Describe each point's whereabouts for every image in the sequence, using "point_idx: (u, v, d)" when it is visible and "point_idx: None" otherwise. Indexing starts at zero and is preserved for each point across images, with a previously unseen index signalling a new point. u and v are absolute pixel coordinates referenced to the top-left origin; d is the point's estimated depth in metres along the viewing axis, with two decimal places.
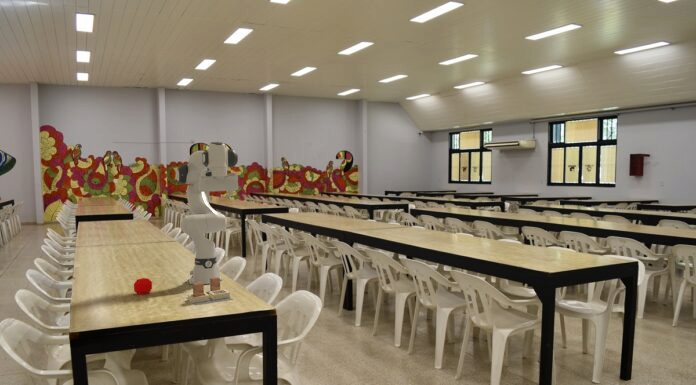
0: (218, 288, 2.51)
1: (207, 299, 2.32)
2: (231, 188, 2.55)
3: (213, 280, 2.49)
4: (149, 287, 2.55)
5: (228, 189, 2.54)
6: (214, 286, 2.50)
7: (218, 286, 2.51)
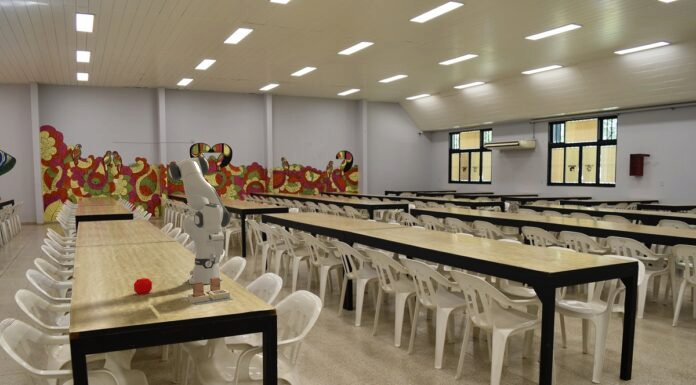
0: (218, 288, 2.51)
1: (207, 299, 2.32)
2: None
3: (213, 280, 2.49)
4: (149, 287, 2.55)
5: None
6: (214, 286, 2.50)
7: (218, 286, 2.51)
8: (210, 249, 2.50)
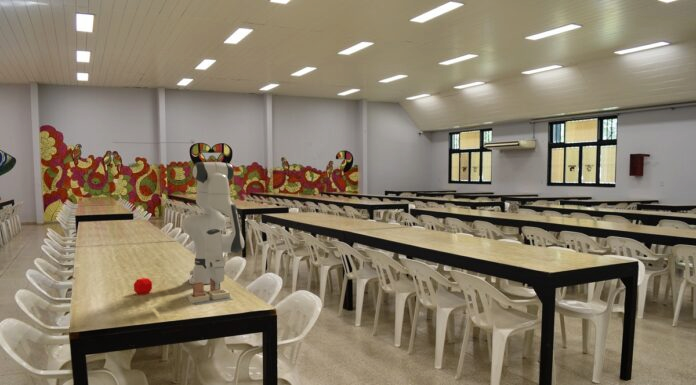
0: None
1: (207, 299, 2.32)
2: None
3: (213, 280, 2.49)
4: (149, 287, 2.55)
5: None
6: (214, 286, 2.50)
7: None
8: (211, 275, 2.51)
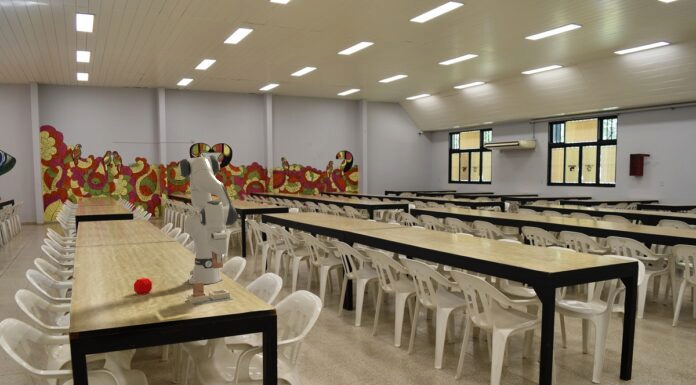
0: None
1: (207, 299, 2.32)
2: None
3: (215, 253, 2.38)
4: (149, 287, 2.55)
5: None
6: (216, 259, 2.38)
7: None
8: (212, 248, 2.40)
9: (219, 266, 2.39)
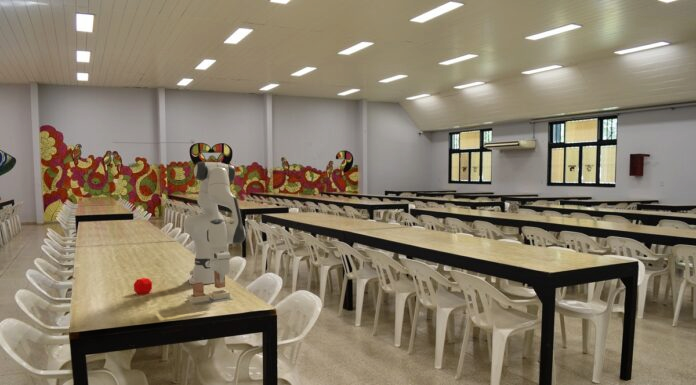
0: None
1: (207, 299, 2.32)
2: None
3: None
4: (149, 287, 2.55)
5: None
6: (218, 279, 2.36)
7: None
8: (215, 268, 2.38)
9: (221, 286, 2.37)
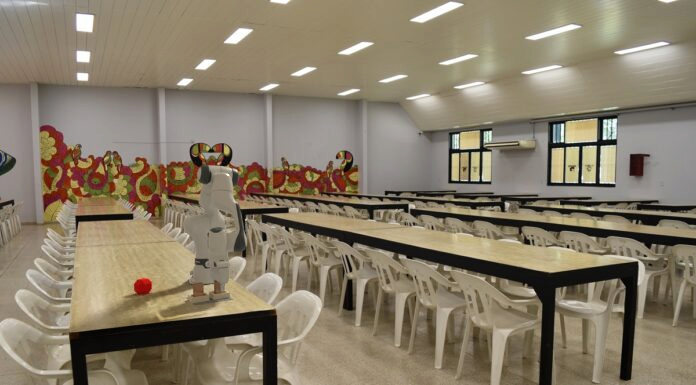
0: None
1: (207, 299, 2.32)
2: None
3: (217, 283, 2.36)
4: (149, 287, 2.55)
5: None
6: (218, 289, 2.37)
7: None
8: (215, 276, 2.38)
9: None
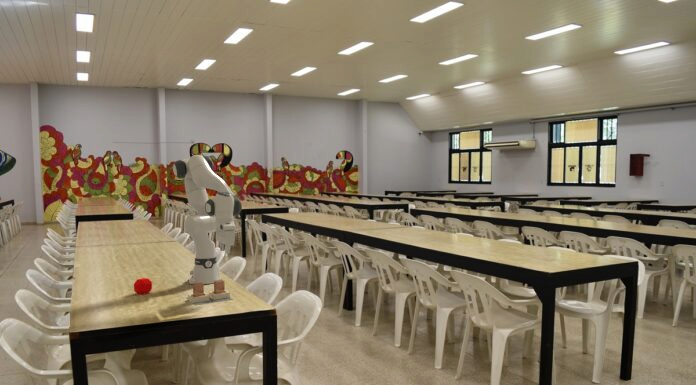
0: (222, 291, 2.38)
1: (207, 299, 2.32)
2: None
3: (217, 283, 2.36)
4: (149, 287, 2.55)
5: None
6: (218, 289, 2.37)
7: (222, 289, 2.38)
8: (221, 239, 2.44)
9: None
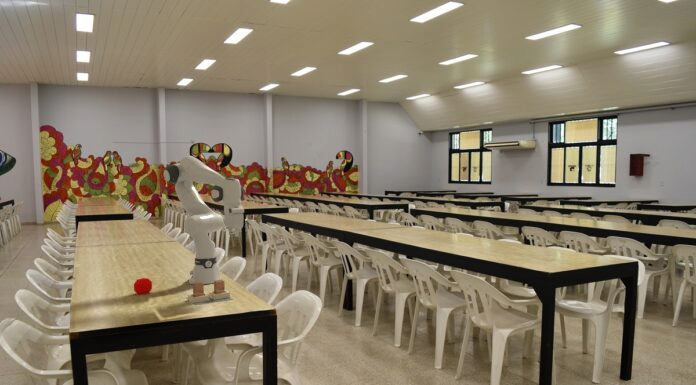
0: (222, 291, 2.38)
1: (207, 299, 2.32)
2: None
3: (217, 283, 2.36)
4: (149, 287, 2.55)
5: None
6: (218, 289, 2.37)
7: (222, 289, 2.38)
8: (229, 223, 2.53)
9: None
